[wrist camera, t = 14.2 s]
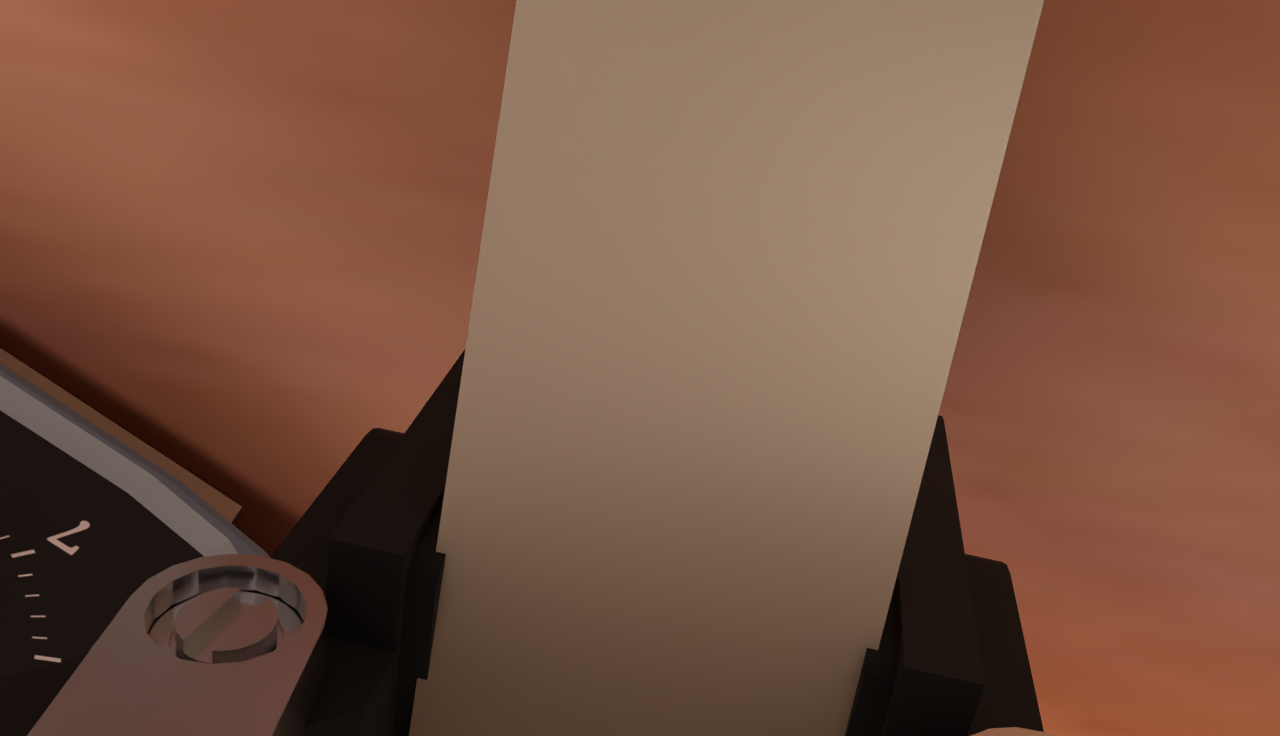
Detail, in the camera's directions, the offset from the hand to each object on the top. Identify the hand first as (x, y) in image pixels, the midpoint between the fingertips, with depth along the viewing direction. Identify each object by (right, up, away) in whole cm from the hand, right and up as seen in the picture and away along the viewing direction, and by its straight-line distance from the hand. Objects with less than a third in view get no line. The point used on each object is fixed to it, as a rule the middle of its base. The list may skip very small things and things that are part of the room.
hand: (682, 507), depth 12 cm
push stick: (0, 0, +1) cm, 1 cm away
